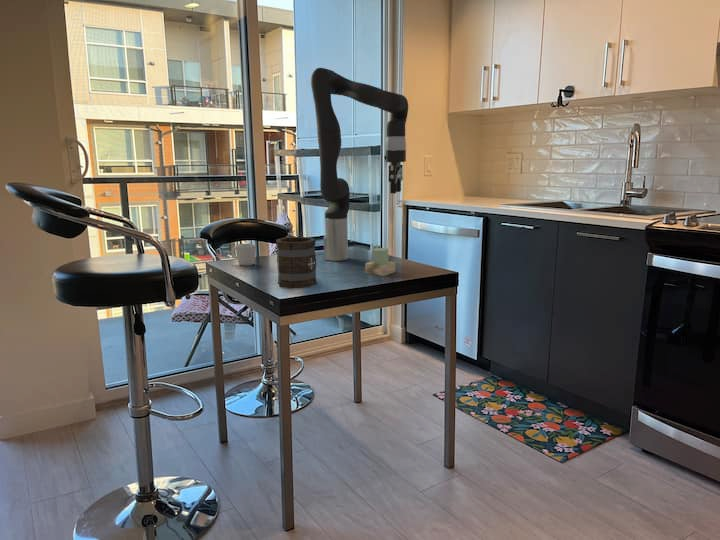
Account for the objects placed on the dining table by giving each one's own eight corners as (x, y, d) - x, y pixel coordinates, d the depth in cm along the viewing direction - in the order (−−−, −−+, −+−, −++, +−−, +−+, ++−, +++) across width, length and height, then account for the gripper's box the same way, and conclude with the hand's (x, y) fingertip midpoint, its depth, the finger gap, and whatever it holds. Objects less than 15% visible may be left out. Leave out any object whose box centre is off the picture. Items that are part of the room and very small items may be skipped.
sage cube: (372, 263, 188) (372, 250, 187) (374, 261, 193) (374, 247, 192) (386, 264, 187) (386, 250, 186) (388, 261, 192) (388, 248, 191)
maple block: (365, 274, 190) (365, 263, 190) (377, 270, 197) (377, 259, 196) (383, 276, 186) (383, 265, 185) (395, 272, 192) (395, 262, 191)
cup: (226, 265, 206) (225, 245, 205) (238, 261, 214) (237, 242, 212) (249, 267, 202) (248, 247, 201) (260, 263, 210) (259, 243, 208)
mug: (312, 289, 168) (311, 243, 165) (272, 288, 170) (270, 242, 167) (324, 275, 187) (322, 234, 184) (287, 274, 189) (285, 234, 186)
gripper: (390, 149, 204) (390, 191, 207) (381, 149, 190) (381, 193, 194) (409, 149, 202) (408, 191, 205) (401, 148, 188) (401, 194, 192)
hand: (395, 192), depth 199 cm, fingers open, 8 cm apart
